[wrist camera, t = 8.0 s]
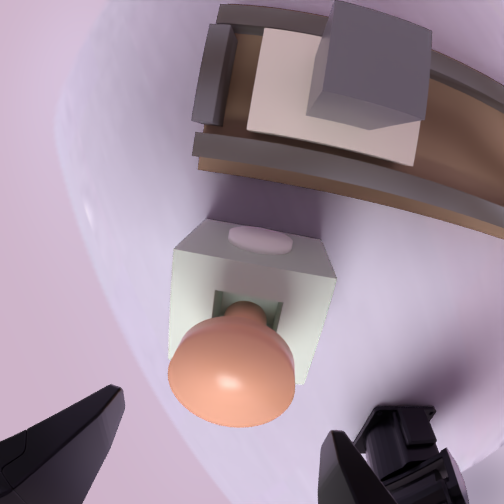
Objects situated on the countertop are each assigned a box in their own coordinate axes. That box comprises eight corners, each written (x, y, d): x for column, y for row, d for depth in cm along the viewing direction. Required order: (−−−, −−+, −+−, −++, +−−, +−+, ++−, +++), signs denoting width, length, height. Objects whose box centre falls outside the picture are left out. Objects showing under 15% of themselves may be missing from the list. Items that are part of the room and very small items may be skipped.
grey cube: (299, 324, 20) (303, 384, 15) (196, 305, 21) (168, 359, 15) (322, 233, 18) (339, 270, 13) (206, 212, 19) (174, 240, 13)
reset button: (281, 363, 15) (279, 435, 11) (195, 347, 15) (168, 412, 11) (302, 286, 14) (309, 348, 9) (203, 267, 14) (169, 321, 9)
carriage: (398, 164, 15) (483, 180, 7) (250, 131, 15) (221, 114, 8) (411, 76, 13) (494, 35, 6) (266, 40, 14) (252, -39, 6)
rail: (524, 244, 17) (555, 261, 13) (204, 168, 18) (183, 173, 14) (545, 122, 14) (578, 123, 10) (231, 13, 15) (219, -16, 11)
